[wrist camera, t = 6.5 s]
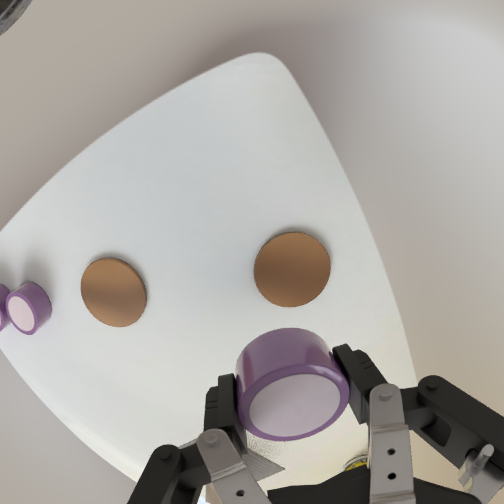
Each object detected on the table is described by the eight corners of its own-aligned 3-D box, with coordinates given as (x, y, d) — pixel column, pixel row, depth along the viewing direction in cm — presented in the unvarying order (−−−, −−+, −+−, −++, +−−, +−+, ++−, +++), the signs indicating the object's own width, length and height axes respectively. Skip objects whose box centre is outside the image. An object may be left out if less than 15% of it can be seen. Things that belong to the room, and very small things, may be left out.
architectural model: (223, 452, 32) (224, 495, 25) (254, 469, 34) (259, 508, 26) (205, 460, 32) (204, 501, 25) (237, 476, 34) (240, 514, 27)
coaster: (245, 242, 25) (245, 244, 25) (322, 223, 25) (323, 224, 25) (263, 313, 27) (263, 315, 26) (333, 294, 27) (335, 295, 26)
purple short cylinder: (223, 341, 13) (222, 381, 10) (325, 315, 13) (348, 349, 10) (248, 410, 14) (252, 450, 12) (334, 388, 15) (351, 425, 12)
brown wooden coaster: (73, 267, 24) (70, 268, 24) (132, 249, 24) (130, 250, 24) (98, 329, 26) (97, 332, 26) (157, 318, 26) (155, 320, 26)
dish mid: (14, 286, 24) (-1, 296, 21) (40, 277, 24) (25, 287, 21) (30, 325, 25) (17, 337, 22) (57, 319, 26) (44, 332, 23)
